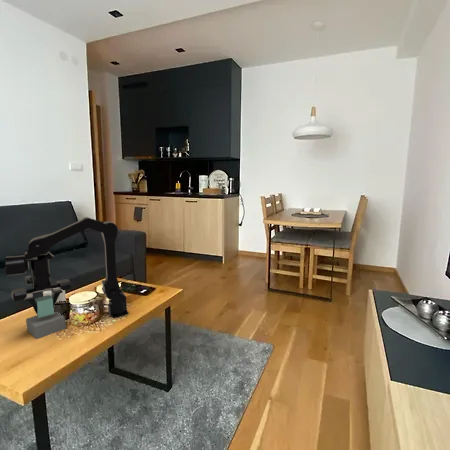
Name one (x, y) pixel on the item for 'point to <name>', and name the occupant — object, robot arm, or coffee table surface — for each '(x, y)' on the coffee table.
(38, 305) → the teal block
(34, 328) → the charcoal box
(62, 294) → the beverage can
